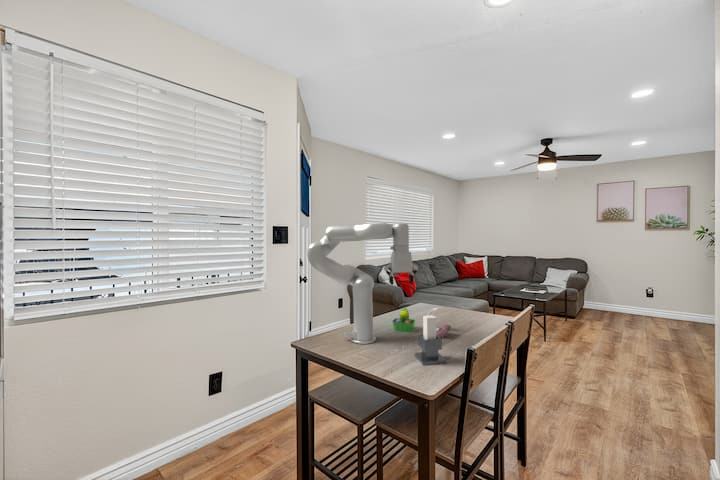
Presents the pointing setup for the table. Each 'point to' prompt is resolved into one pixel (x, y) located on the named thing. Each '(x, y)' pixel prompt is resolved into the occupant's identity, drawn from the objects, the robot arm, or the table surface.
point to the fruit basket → (403, 322)
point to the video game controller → (444, 331)
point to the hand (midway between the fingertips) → (401, 283)
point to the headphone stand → (430, 314)
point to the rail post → (429, 327)
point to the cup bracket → (430, 351)
